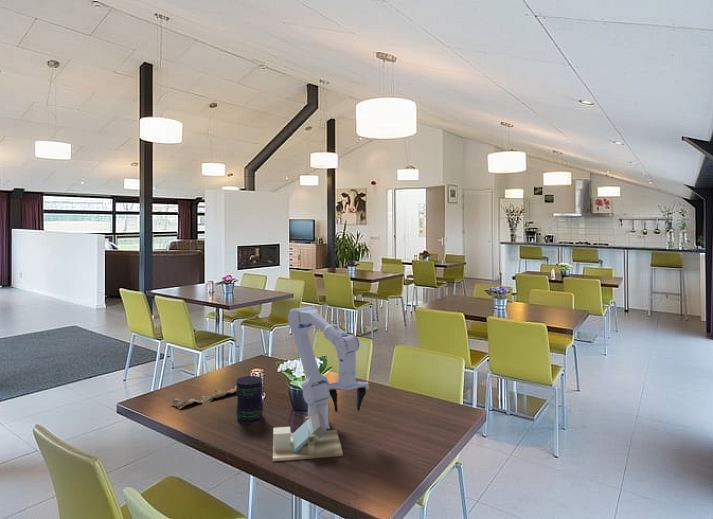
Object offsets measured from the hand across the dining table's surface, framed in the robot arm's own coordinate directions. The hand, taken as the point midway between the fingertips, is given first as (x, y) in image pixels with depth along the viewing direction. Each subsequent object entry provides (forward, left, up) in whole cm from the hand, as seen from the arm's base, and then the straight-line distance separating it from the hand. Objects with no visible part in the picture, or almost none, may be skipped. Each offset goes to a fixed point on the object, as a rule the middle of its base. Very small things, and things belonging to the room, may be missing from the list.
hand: (347, 410), depth 159 cm
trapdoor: (+3, -12, -7) cm, 14 cm away
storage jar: (-24, -34, -11) cm, 43 cm away
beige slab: (+3, -14, -10) cm, 18 cm away
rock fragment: (-50, -51, -11) cm, 72 cm away
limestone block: (+3, -19, -7) cm, 21 cm away
